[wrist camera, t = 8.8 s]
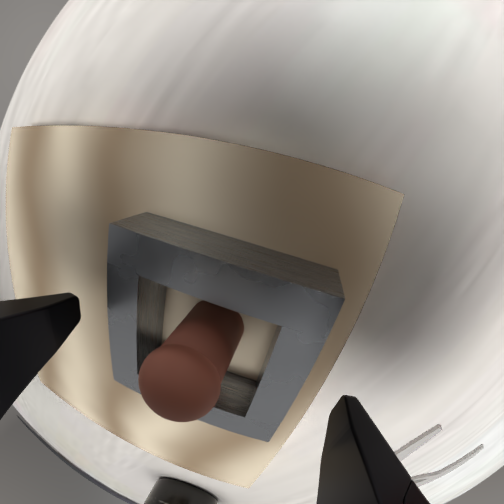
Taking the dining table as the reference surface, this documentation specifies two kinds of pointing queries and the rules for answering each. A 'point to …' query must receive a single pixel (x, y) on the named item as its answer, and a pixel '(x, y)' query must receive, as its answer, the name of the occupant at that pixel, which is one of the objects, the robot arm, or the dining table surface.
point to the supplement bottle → (177, 493)
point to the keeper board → (177, 303)
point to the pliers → (418, 442)
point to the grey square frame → (225, 295)
